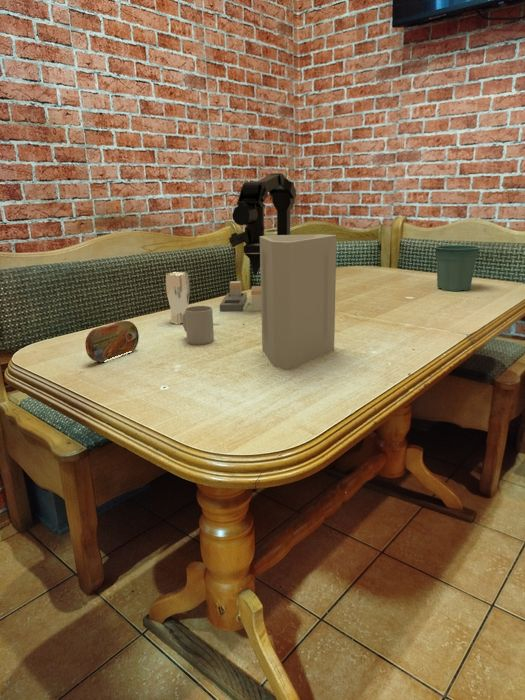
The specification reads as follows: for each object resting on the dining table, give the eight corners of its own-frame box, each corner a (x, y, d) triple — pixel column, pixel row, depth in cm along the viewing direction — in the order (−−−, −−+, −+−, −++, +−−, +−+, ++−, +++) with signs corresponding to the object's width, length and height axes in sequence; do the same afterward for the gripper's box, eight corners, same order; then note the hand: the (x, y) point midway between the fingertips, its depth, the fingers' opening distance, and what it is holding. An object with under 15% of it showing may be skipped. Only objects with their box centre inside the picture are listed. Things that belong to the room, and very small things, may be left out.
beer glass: (193, 319, 159) (190, 271, 155) (188, 324, 153) (185, 275, 148) (172, 319, 160) (168, 271, 155) (166, 324, 153) (162, 275, 149)
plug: (263, 306, 170) (263, 286, 168) (262, 309, 167) (262, 288, 165) (252, 306, 171) (252, 286, 169) (251, 309, 167) (251, 288, 165)
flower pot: (422, 287, 200) (425, 246, 195) (453, 283, 207) (457, 243, 202) (453, 294, 186) (457, 250, 181) (485, 289, 193) (490, 247, 188)
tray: (271, 307, 173) (271, 302, 173) (270, 313, 164) (270, 308, 164) (245, 307, 174) (245, 302, 173) (243, 313, 165) (242, 308, 165)
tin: (94, 367, 118) (89, 332, 115) (85, 365, 119) (80, 330, 117) (141, 349, 130) (137, 317, 127) (132, 348, 131) (129, 316, 129)
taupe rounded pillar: (288, 339, 135) (287, 232, 127) (335, 349, 126) (338, 235, 118) (240, 358, 121) (235, 239, 113) (289, 370, 112) (289, 242, 104)
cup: (199, 346, 131) (197, 313, 128) (174, 340, 137) (172, 308, 135) (219, 340, 136) (217, 308, 134) (194, 334, 142) (192, 303, 140)
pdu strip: (246, 300, 184) (246, 280, 181) (241, 313, 165) (240, 290, 162) (227, 301, 184) (226, 280, 182) (220, 313, 165) (218, 291, 163)
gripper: (233, 221, 170) (235, 268, 175) (226, 225, 152) (228, 277, 157) (266, 221, 169) (267, 267, 174) (262, 225, 151) (264, 276, 156)
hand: (256, 272), depth 165 cm, fingers open, 9 cm apart
